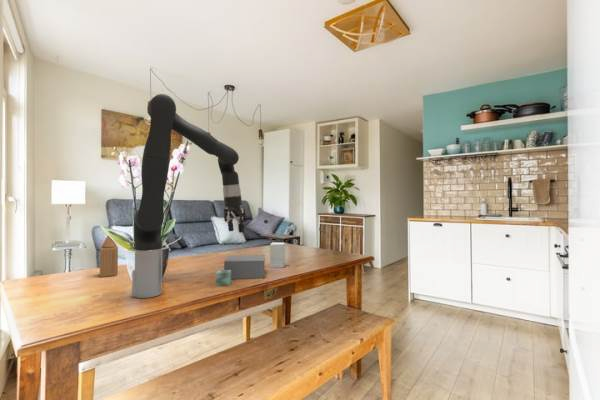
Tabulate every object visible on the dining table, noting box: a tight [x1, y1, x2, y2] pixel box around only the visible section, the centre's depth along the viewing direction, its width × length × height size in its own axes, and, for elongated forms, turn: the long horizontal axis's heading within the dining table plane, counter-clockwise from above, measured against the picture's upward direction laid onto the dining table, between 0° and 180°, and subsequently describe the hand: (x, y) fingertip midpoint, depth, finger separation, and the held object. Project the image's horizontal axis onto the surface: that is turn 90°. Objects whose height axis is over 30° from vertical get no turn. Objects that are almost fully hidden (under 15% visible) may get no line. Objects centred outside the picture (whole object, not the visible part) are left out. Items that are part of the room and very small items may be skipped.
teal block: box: [215, 269, 232, 287], centre depth 127 cm, size 6×6×6 cm
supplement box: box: [269, 242, 286, 269], centre depth 161 cm, size 7×7×13 cm
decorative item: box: [99, 235, 119, 278], centre depth 140 cm, size 7×7×20 cm
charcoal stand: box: [223, 253, 266, 280], centre depth 143 cm, size 18×16×8 cm
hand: (236, 231), depth 132 cm, fingers open, 8 cm apart
